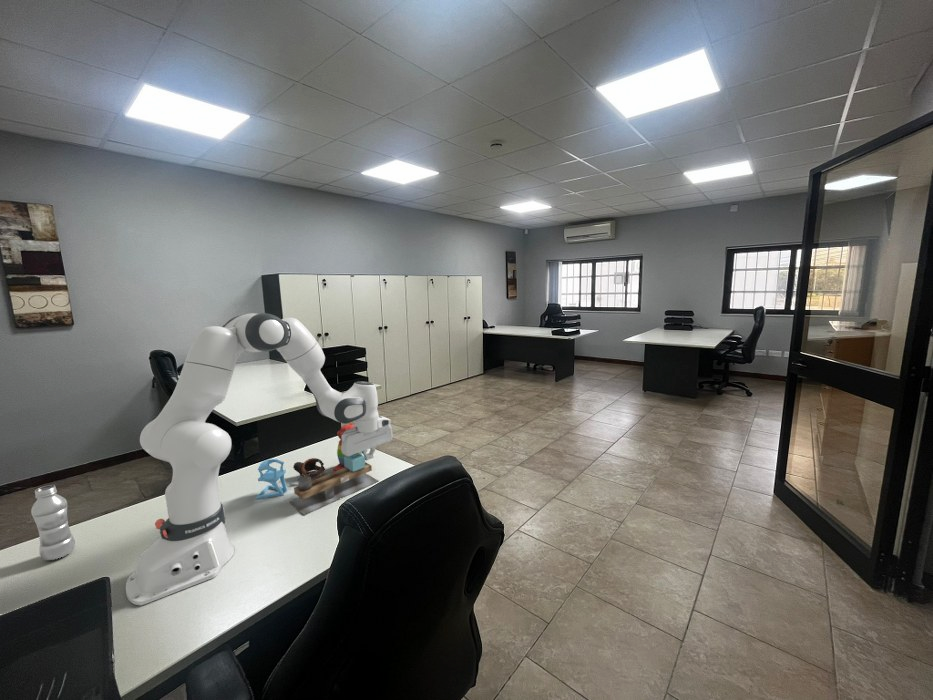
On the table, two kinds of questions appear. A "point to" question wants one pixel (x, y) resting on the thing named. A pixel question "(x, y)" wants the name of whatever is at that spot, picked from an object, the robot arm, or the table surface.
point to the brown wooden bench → (330, 488)
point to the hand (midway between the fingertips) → (368, 458)
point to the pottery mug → (309, 468)
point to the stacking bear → (339, 452)
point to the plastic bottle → (52, 523)
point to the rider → (354, 462)
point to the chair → (272, 478)
